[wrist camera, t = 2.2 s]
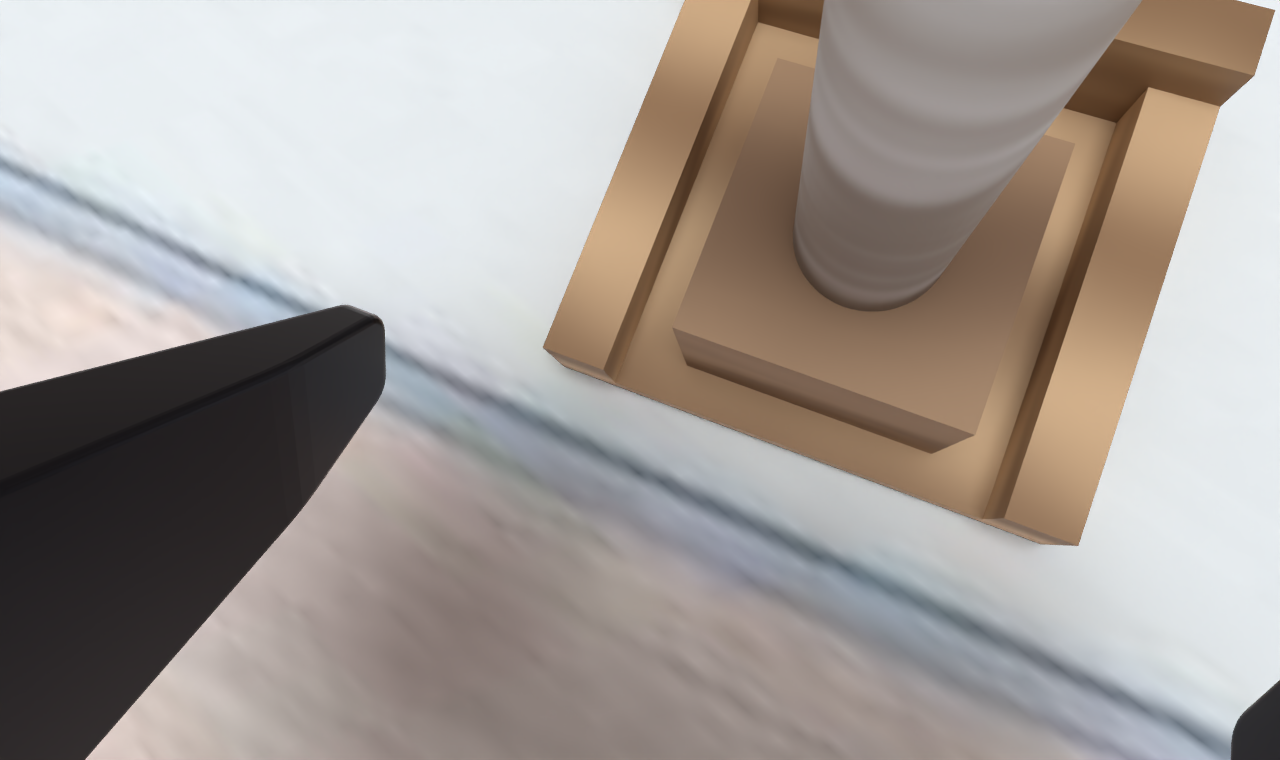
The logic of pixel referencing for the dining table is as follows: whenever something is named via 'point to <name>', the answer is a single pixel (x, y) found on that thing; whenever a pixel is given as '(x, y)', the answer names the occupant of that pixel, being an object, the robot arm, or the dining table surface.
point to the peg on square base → (893, 210)
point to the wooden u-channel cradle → (1053, 299)
